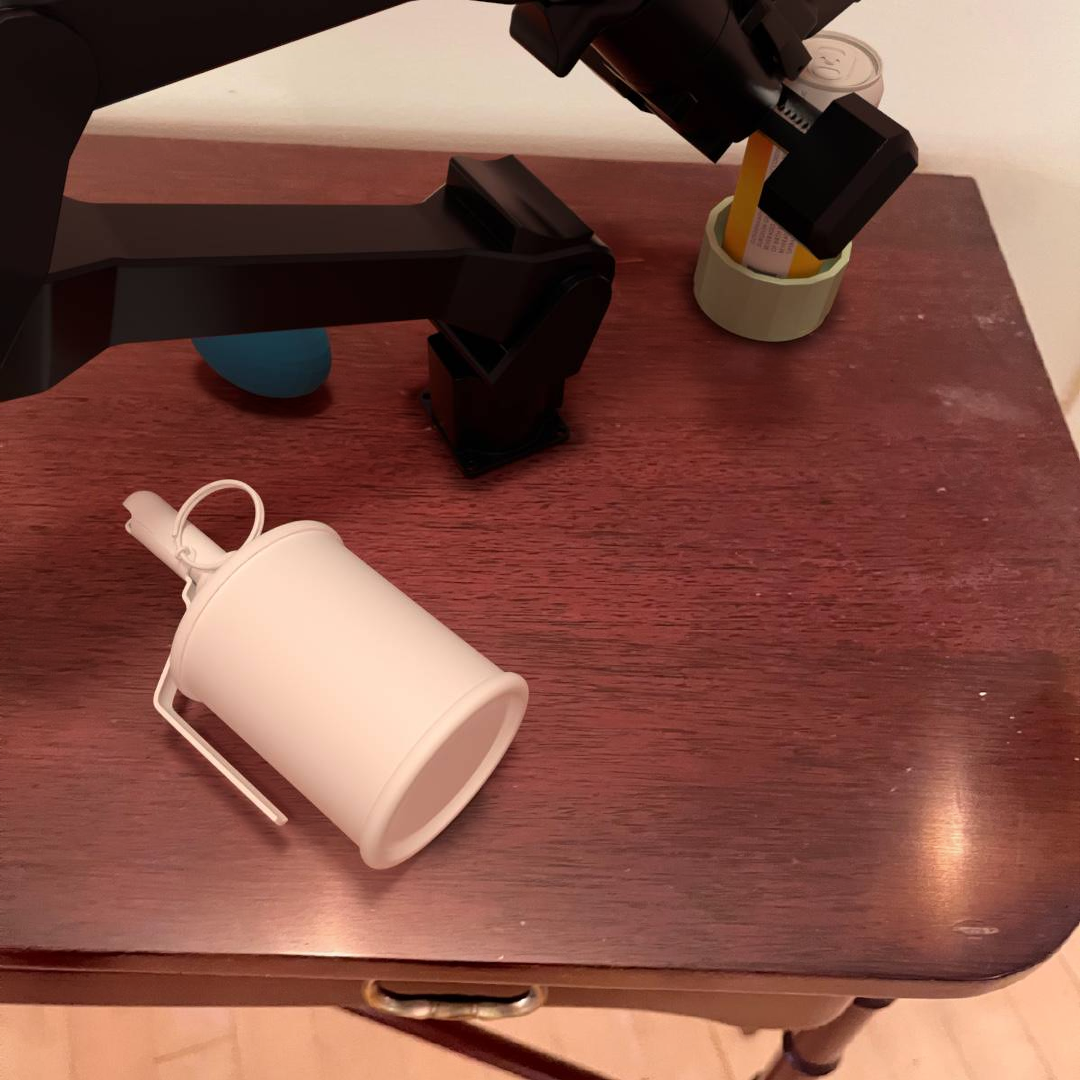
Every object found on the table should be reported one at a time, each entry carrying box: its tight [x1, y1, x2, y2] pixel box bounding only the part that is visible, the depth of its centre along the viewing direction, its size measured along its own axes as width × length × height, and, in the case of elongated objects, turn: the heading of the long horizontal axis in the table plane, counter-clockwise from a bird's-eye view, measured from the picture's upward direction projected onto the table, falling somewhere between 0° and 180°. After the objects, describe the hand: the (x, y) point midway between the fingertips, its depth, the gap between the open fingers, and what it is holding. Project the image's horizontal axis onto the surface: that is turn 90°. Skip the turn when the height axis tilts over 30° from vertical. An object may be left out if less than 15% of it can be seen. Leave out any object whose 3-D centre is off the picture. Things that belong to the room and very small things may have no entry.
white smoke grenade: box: [122, 479, 530, 870], centre depth 43 cm, size 10×9×20 cm
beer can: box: [721, 29, 885, 279], centre depth 57 cm, size 6×6×15 cm
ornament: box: [190, 328, 333, 399], centre depth 53 cm, size 8×5×10 cm, turn 70°
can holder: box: [693, 194, 853, 342], centre depth 62 cm, size 9×9×4 cm
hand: (790, 167), depth 55 cm, fingers open, 9 cm apart
